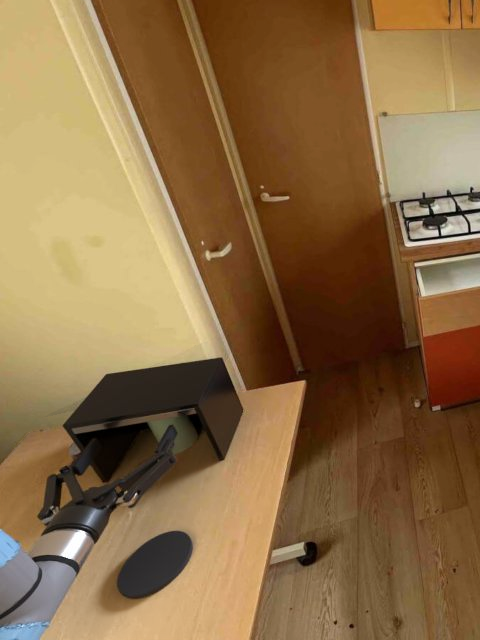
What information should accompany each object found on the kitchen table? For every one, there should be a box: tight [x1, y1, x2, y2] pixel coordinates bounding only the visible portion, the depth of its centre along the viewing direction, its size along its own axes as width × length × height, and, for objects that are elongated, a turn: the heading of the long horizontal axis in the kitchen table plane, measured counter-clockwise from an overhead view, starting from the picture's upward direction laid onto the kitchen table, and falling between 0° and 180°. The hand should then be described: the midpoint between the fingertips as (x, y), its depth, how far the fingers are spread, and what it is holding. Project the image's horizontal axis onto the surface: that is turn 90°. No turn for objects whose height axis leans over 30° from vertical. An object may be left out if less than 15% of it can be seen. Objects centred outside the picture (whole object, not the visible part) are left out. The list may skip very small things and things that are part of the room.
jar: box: [147, 415, 199, 455], centre depth 99 cm, size 7×7×12 cm
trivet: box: [116, 530, 194, 600], centre depth 78 cm, size 11×11×1 cm
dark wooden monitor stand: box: [62, 356, 245, 484], centre depth 97 cm, size 15×24×18 cm, turn 104°
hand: (136, 435), depth 87 cm, fingers open, 13 cm apart
